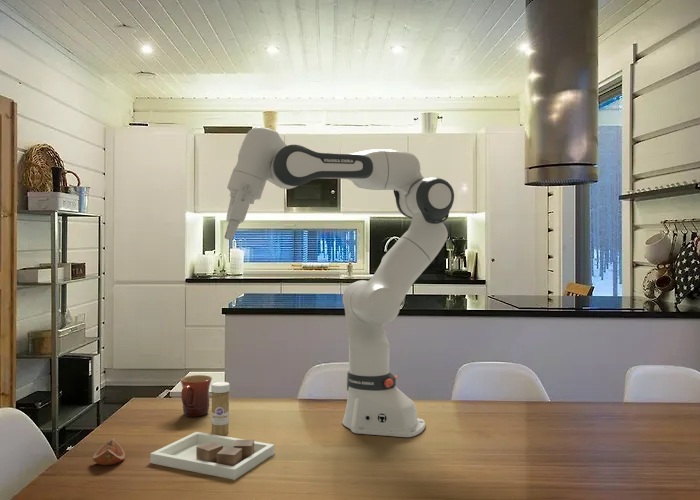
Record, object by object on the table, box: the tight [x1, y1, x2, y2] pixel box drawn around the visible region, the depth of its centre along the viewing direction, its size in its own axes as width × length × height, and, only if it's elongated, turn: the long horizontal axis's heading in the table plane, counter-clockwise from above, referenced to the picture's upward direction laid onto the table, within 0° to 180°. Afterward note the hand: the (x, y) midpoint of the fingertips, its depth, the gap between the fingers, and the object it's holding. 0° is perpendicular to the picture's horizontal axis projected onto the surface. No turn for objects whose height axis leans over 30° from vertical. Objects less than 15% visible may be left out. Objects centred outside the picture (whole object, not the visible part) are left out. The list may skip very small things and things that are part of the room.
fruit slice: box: [91, 436, 126, 466], centre depth 127 cm, size 8×7×5 cm
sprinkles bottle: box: [210, 381, 231, 436], centre depth 147 cm, size 5×5×14 cm
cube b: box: [196, 442, 223, 463], centre depth 126 cm, size 4×4×4 cm
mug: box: [180, 374, 213, 418], centre depth 164 cm, size 12×9×10 cm
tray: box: [149, 431, 275, 481], centre depth 130 cm, size 22×16×3 cm
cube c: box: [234, 439, 255, 461], centre depth 128 cm, size 4×4×4 cm
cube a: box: [217, 447, 242, 466], centre depth 123 cm, size 4×4×4 cm
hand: (228, 238), depth 146 cm, fingers open, 8 cm apart
